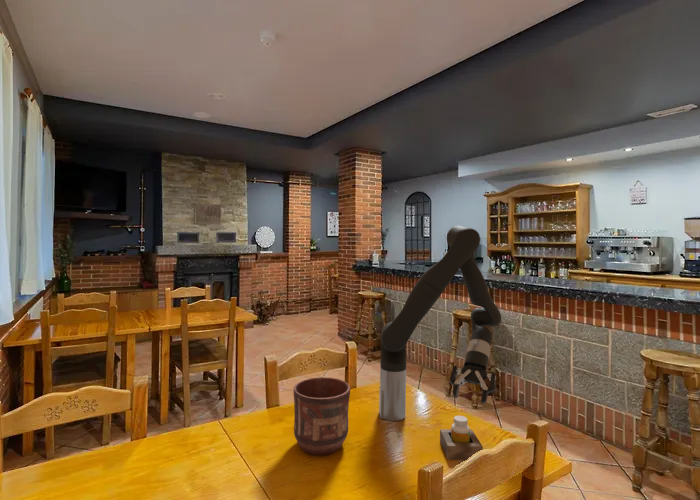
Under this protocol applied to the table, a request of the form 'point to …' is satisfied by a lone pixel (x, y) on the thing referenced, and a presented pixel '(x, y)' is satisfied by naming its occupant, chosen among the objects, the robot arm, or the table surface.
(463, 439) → the supplement bottle
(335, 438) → the pottery
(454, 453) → the collar block
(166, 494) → the table surface
